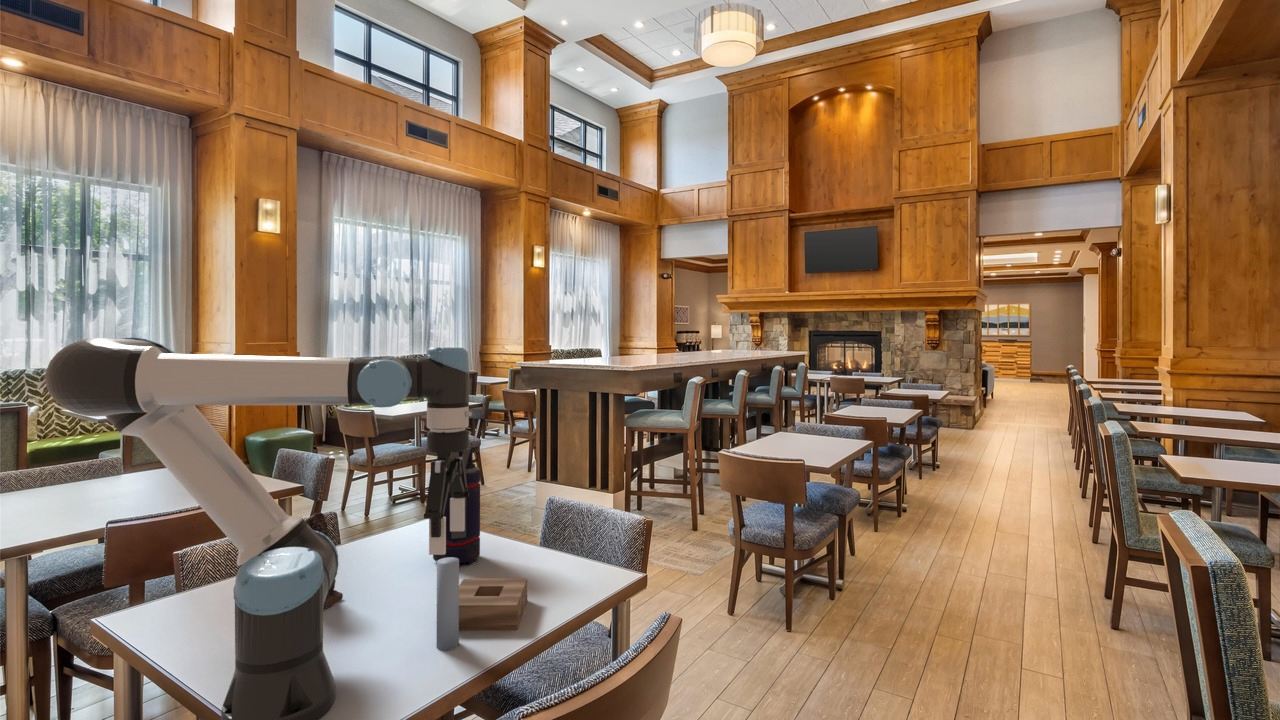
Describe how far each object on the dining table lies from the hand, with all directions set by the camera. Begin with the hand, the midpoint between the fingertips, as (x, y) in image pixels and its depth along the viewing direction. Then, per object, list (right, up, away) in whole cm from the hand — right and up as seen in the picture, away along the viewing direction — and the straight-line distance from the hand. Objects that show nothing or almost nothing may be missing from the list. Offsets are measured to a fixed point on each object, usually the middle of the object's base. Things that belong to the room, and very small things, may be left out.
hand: (447, 541), depth 114 cm
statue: (-34, -19, +18) cm, 43 cm away
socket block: (+4, -19, +13) cm, 24 cm away
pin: (0, -20, 0) cm, 20 cm away
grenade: (-12, -19, +45) cm, 50 cm away
